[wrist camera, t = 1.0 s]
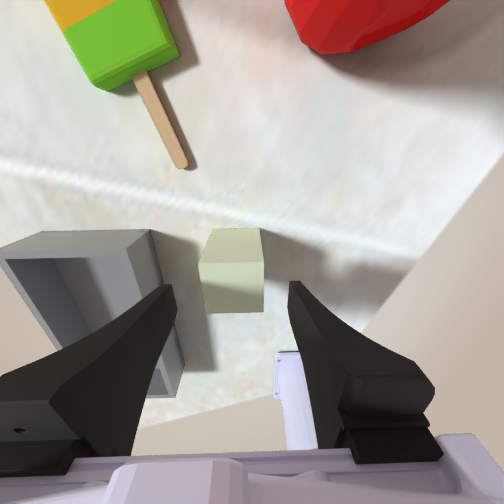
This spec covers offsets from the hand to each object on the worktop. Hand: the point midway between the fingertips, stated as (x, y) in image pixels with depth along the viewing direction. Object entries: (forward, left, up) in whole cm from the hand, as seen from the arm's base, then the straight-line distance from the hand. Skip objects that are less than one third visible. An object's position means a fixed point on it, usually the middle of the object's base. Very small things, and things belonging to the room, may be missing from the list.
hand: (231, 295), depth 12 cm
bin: (-7, +12, -7) cm, 15 cm away
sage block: (0, 0, -7) cm, 7 cm away
